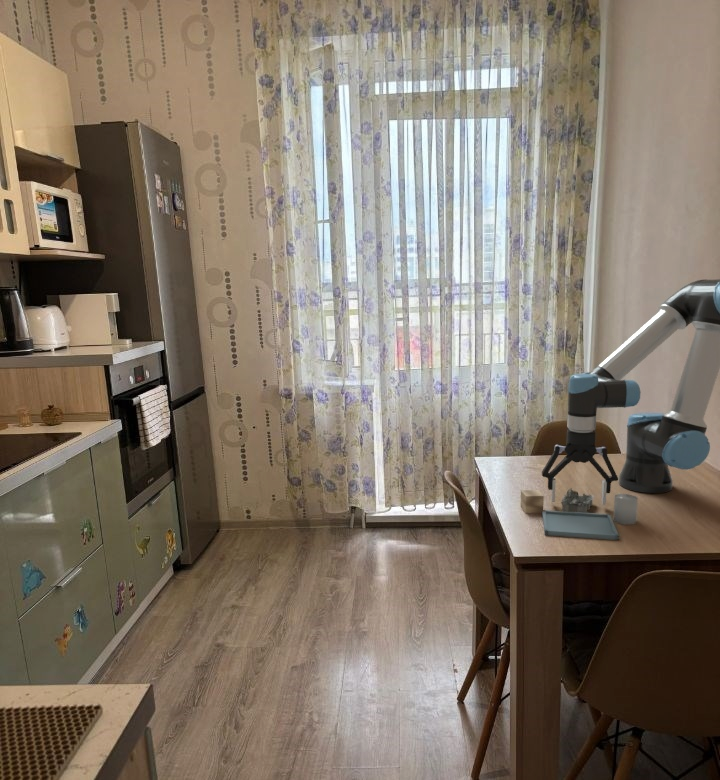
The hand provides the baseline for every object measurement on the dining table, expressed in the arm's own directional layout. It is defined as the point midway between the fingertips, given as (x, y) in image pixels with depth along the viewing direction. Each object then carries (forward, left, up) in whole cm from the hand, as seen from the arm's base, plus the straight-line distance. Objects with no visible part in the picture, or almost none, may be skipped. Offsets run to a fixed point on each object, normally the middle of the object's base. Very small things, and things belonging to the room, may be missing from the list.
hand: (578, 502), depth 171 cm
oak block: (+13, +4, -2) cm, 14 cm away
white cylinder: (-11, +8, -2) cm, 14 cm away
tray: (+1, +14, -2) cm, 15 cm away
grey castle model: (0, 0, -2) cm, 2 cm away
